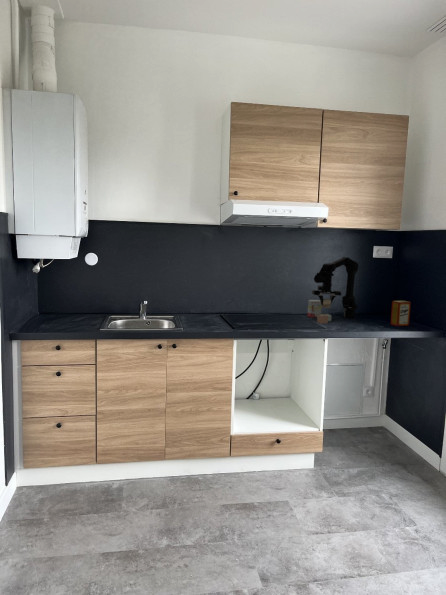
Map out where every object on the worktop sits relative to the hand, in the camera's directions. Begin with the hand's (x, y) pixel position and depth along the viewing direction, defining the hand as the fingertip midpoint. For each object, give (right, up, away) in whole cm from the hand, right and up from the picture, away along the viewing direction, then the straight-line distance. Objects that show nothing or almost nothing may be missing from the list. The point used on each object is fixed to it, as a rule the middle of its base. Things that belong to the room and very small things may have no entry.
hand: (325, 305), depth 307 cm
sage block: (0, -10, +1) cm, 10 cm away
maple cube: (0, -1, 0) cm, 1 cm away
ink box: (-5, -9, +14) cm, 17 cm away
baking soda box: (+46, -13, -10) cm, 49 cm away
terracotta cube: (-5, -11, -10) cm, 16 cm away
